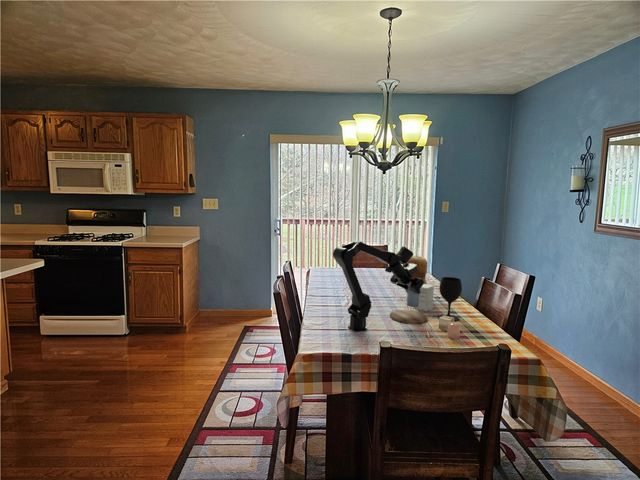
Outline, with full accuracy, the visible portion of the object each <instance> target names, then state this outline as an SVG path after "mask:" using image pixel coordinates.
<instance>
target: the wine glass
mask: <svg viewBox="0 0 640 480" xmlns="http://www.w3.org/2000/svg"><path fill="white" fill-rule="evenodd" d="M439 282H440V283H439V294H440V295H441V297H442V298H443V300H444V301H445V302H447V304H448V305H447V314H445V313H444V314H443V313H442V314H439V315H437V318H438V319H439V318H440V317H442V316H448V317H453V318H454V322H456V323H457V322H459V321H460V317H458V316H457V315H453V314H451V306H452V303H453V302H455V301H457V300H458V299H459V298H460V296H461V294H462V291H463V287H462V280H461V279H460V278H457V277H451V276H445V277H441V279H440V281H439Z"/></svg>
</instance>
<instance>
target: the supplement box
mask: <svg viewBox="0 0 640 480" xmlns="http://www.w3.org/2000/svg"><path fill="white" fill-rule="evenodd" d="M434 287H435V286H434V285H432V284H428V283H427V284H423V286H422V287H421V288H420V294H419V306H418V307H413V308H414V309H416V310H420V311H422V312H423V311H424V312H428V311H430V310H432V309H433V307H434V292H435V291H434Z"/></svg>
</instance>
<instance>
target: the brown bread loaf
mask: <svg viewBox="0 0 640 480" xmlns="http://www.w3.org/2000/svg"><path fill="white" fill-rule="evenodd" d="M389 318H390V319H392V320H393V321H396V322H398V323H402V324H410V325H415V324H424V323H426V322H427V321H428V316H427V314H425V313H423V312H420V311H416V310H413V309H412V310H411V309H409V310H408V309H397V310H393V311H391V312H390V313H389Z"/></svg>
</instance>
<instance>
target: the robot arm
mask: <svg viewBox="0 0 640 480" xmlns="http://www.w3.org/2000/svg"><path fill="white" fill-rule="evenodd" d="M359 252H362V253H364V254H366V255H369V256H371V257H374V258H375V259H376V260H378V261H379V262H381V263H382V264H385V265H386V266H385V268H384V269H385V270H384V271H385V272H386V273H390V274H393V275H392V276H391V277H390V280H389V281H390V283H391V284H393V285H396V286H398V287H400V288H402V289H404V290H405V289H406V290H408V285H409V283H410V290H412V291H414V292H416V293H418V294H420V288H421V287H422V286H423V284H424V283H425V281H424V280H423V279H421V278H418V277H417V278H415V279H411V278H412V277H413V275H412V274H414V273H416V272H418V268H417V265H416V264H408V261H409V260H410V259H411V257H412V256H414V252H413V251H412V250H410V249H409V248H407V246H401V247H400V249H399V251H398V252H397V253H395V252H393V251H387V250H383V249H378V248H376V247H374V246H372V245H369V244H366V243H364V242H363V241H361V240H355V239H354V240H353V241H350V242H349V243H347V244H343V245H341V246H337V247H336V248H334V250H333V251H332V257H333V258H334V260H335V262H336V264H338V266H340V268H341V269H342V272H343V275H344V277H345V280H346V282H347V285H348V287H349V288H348V289H349V290H350V292H351V295H352V296H351V304H350V306H348V308H347V312H348V314H350V317H349V325H348V326H347V328H348V329H350V330H352V331H353V332H360V331H367V330H368V328H367V318H368V317H369V314H370V311H371V309H372V304H373V302H372V300H371V298H370V295H369V294H367V293H364V292H363V290H362V287H361V285H360V281H359V279H358V276H357V274H356V271H355V269H354V266H353V264H354V257H355V256H357V255H358V254H359ZM406 290H405V291H406Z"/></svg>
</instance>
